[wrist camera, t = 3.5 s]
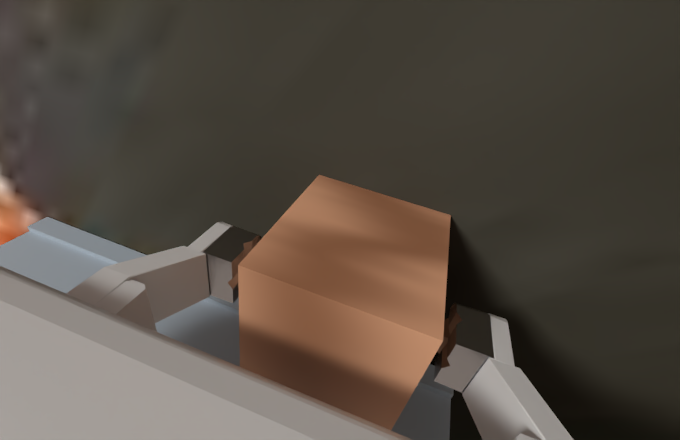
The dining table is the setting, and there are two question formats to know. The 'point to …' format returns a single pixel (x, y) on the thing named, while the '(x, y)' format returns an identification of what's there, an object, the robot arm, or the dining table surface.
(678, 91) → the dining table surface
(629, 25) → the dining table surface
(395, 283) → the block
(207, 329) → the channel
